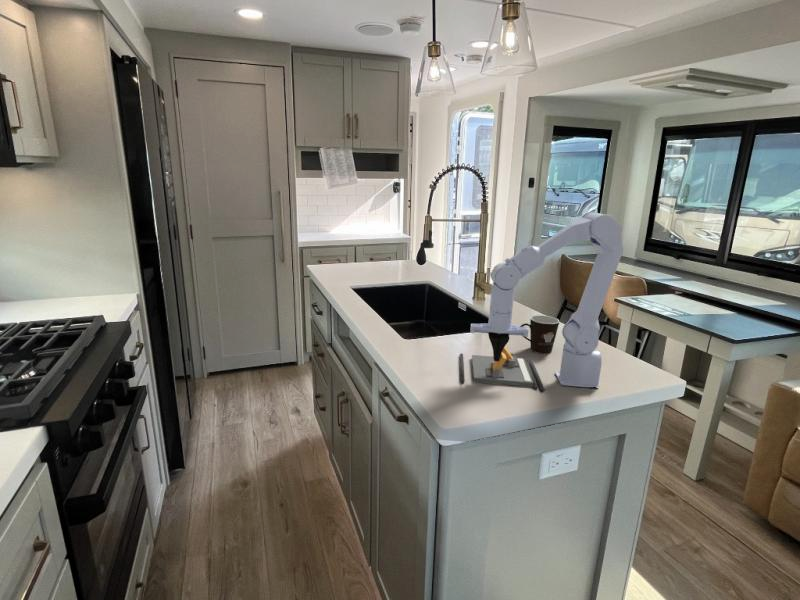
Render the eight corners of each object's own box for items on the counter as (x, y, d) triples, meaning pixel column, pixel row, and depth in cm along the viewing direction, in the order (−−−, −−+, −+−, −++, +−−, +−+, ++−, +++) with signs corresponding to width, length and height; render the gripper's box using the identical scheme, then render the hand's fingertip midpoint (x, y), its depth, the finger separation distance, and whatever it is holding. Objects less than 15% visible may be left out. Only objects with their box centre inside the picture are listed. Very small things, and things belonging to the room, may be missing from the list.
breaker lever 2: (512, 356, 131) (502, 343, 130) (514, 361, 127) (504, 348, 127) (509, 358, 131) (499, 345, 131) (510, 364, 128) (500, 350, 127)
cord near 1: (532, 362, 134) (532, 359, 133) (544, 392, 115) (545, 388, 115) (528, 362, 134) (529, 359, 133) (540, 391, 115) (541, 388, 115)
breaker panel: (523, 362, 133) (525, 352, 132) (532, 386, 118) (534, 375, 117) (471, 358, 135) (472, 348, 134) (474, 382, 119) (475, 370, 119)
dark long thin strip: (527, 363, 133) (527, 360, 132) (537, 389, 116) (538, 386, 116) (524, 363, 133) (524, 360, 133) (533, 389, 116) (534, 385, 116)
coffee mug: (554, 347, 147) (558, 317, 144) (556, 356, 139) (560, 325, 136) (517, 342, 150) (520, 313, 147) (516, 351, 142) (519, 320, 139)
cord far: (463, 356, 136) (463, 353, 136) (464, 383, 118) (464, 380, 118) (459, 355, 137) (459, 352, 136) (460, 383, 118) (460, 380, 118)
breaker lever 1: (495, 368, 124) (505, 353, 123) (496, 374, 120) (506, 359, 119) (491, 366, 124) (501, 351, 123) (492, 372, 120) (502, 357, 119)
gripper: (527, 308, 121) (521, 356, 124) (471, 304, 122) (467, 352, 126) (531, 315, 114) (525, 366, 118) (472, 311, 116) (468, 361, 119)
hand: (496, 359), depth 121 cm, fingers closed
